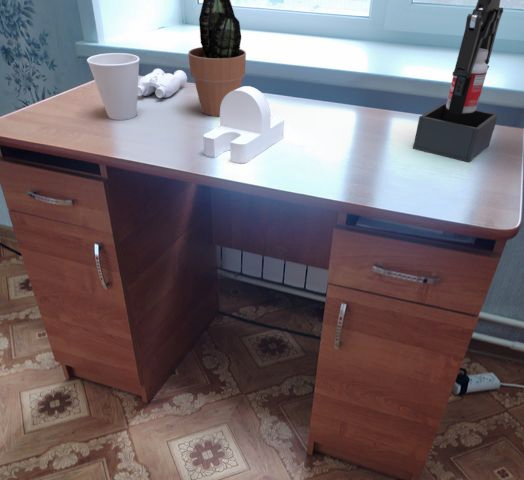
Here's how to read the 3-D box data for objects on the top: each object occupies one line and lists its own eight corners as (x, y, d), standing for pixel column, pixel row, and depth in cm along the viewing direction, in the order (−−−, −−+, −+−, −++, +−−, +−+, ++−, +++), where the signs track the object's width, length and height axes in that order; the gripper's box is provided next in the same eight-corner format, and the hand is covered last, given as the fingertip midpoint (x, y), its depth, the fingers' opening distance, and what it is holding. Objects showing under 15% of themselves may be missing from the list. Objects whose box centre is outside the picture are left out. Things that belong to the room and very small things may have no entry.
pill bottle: (439, 107, 107) (453, 47, 100) (462, 104, 109) (477, 45, 102) (458, 115, 103) (474, 54, 96) (482, 112, 105) (499, 51, 98)
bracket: (244, 164, 102) (243, 104, 94) (201, 154, 105) (198, 95, 98) (285, 136, 115) (287, 81, 107) (246, 128, 118) (246, 74, 110)
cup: (105, 107, 129) (95, 52, 120) (151, 108, 128) (144, 53, 120) (91, 122, 120) (79, 63, 111) (141, 124, 119) (132, 65, 111)
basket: (488, 145, 112) (498, 114, 108) (469, 162, 105) (478, 129, 100) (435, 133, 118) (442, 103, 113) (412, 148, 110) (419, 116, 106)
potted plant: (182, 114, 125) (172, -8, 108) (207, 100, 135) (201, -15, 118) (232, 122, 121) (229, -4, 105) (254, 107, 131) (255, -11, 114)
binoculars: (188, 86, 144) (186, 68, 141) (168, 102, 133) (166, 83, 129) (153, 84, 146) (151, 66, 143) (131, 99, 134) (128, 80, 131)
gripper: (493, -35, 98) (460, 94, 113) (457, -28, 86) (426, 115, 102) (533, -32, 95) (493, 101, 110) (501, -24, 83) (462, 123, 98)
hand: (461, 107), depth 106 cm, fingers closed on pill bottle, 6 cm apart
